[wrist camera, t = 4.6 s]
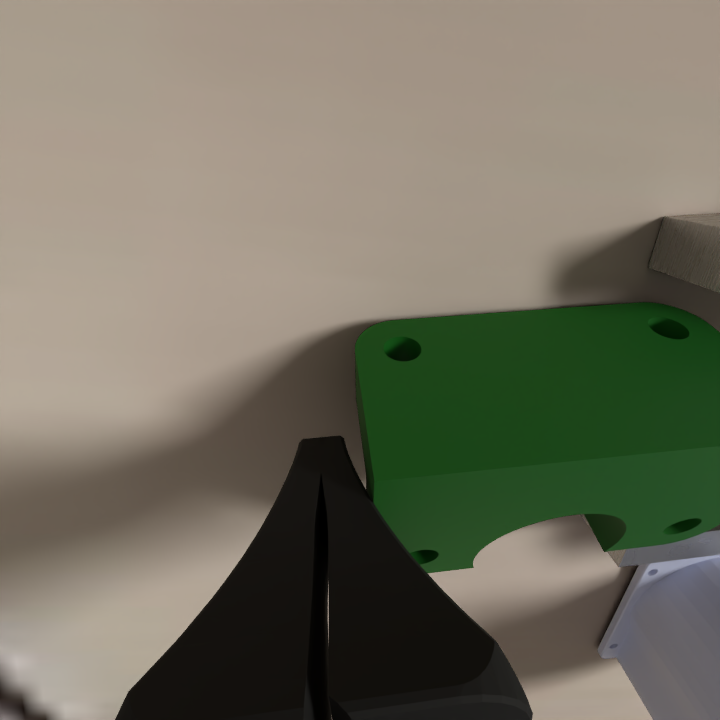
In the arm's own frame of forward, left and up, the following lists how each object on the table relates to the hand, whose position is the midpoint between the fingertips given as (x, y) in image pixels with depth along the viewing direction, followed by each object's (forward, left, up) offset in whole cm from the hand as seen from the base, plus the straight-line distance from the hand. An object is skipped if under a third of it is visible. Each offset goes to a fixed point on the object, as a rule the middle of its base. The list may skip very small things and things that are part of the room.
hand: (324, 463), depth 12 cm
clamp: (0, -6, -3) cm, 7 cm away
